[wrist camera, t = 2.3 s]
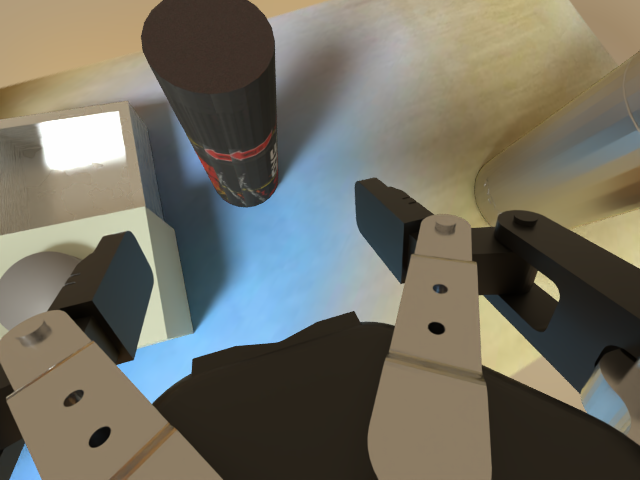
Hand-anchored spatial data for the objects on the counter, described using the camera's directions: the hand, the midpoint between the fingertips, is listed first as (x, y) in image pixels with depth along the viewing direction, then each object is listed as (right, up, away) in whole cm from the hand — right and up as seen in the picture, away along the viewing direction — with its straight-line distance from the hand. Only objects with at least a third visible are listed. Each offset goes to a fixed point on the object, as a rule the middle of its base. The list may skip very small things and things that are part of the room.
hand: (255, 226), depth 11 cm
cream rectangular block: (-15, -5, +14) cm, 21 cm away
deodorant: (-5, +5, +18) cm, 19 cm away
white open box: (-17, +3, +15) cm, 23 cm away
